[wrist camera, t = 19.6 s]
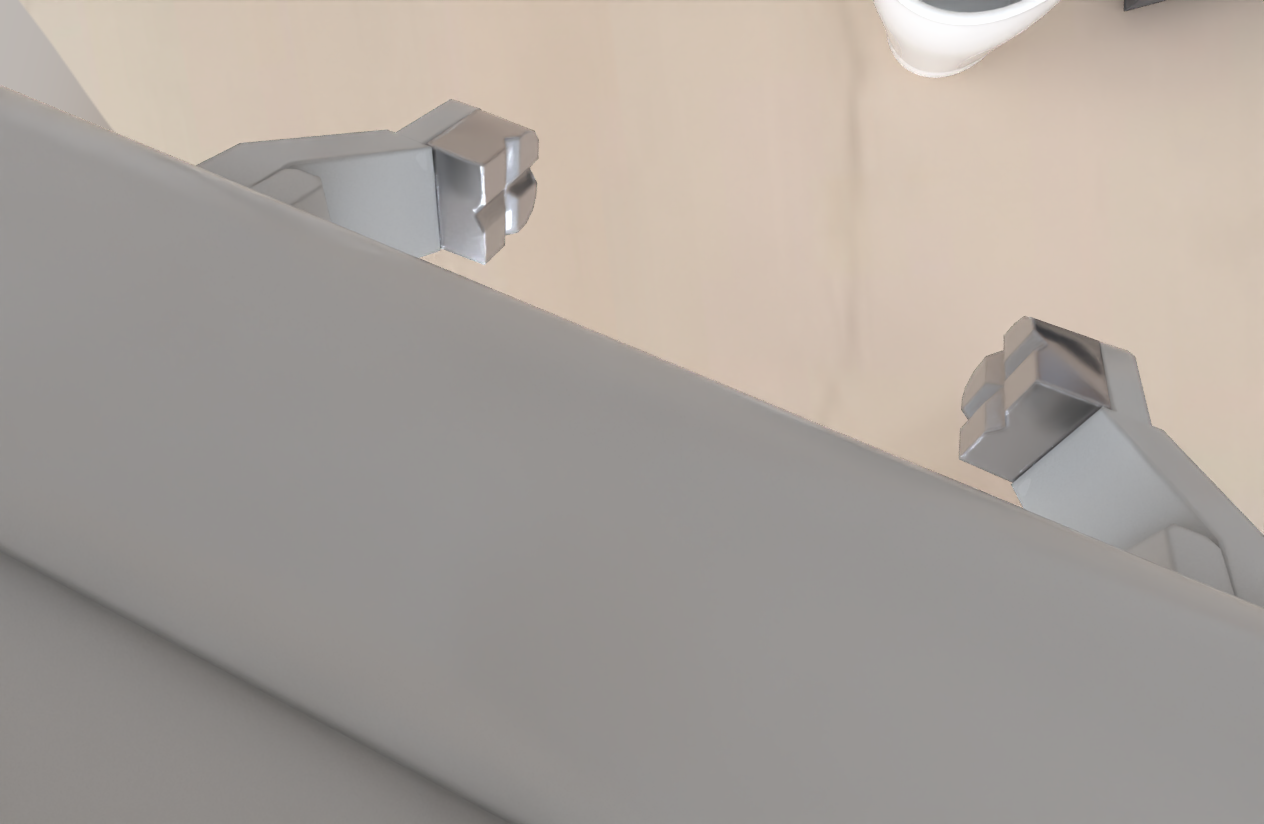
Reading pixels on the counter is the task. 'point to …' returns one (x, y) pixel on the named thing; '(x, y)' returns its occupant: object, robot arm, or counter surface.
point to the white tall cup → (953, 30)
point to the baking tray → (1138, 3)
